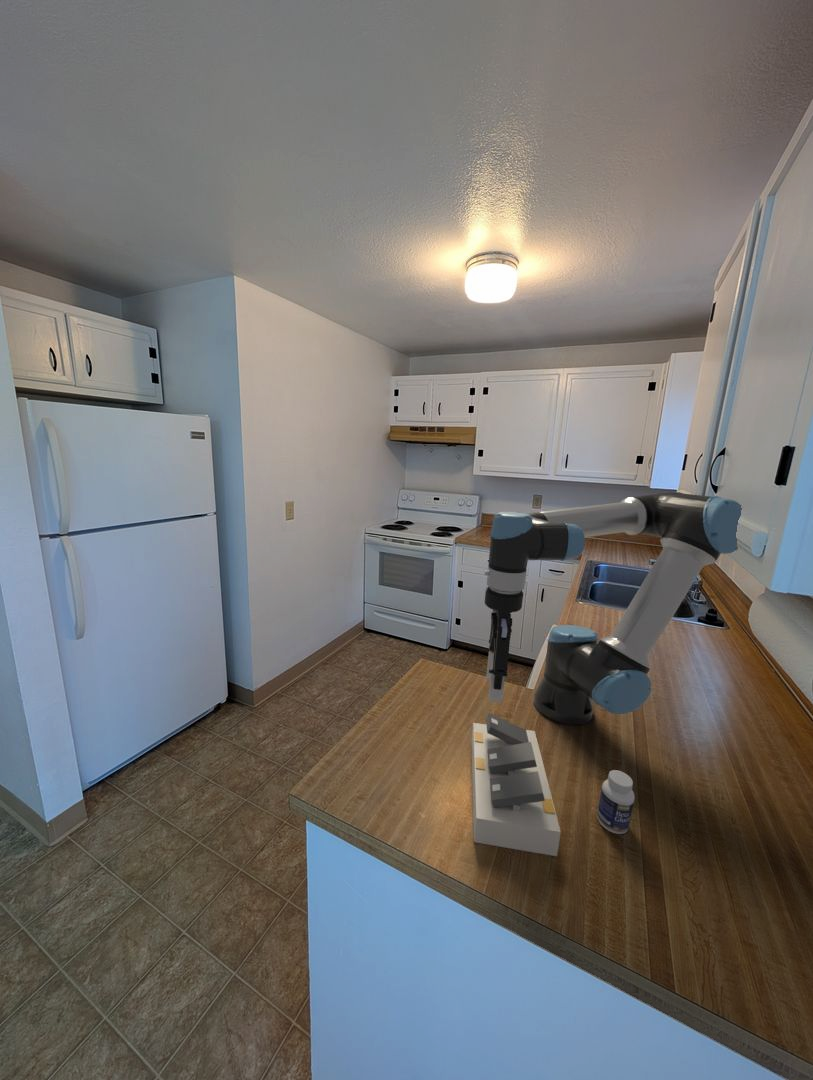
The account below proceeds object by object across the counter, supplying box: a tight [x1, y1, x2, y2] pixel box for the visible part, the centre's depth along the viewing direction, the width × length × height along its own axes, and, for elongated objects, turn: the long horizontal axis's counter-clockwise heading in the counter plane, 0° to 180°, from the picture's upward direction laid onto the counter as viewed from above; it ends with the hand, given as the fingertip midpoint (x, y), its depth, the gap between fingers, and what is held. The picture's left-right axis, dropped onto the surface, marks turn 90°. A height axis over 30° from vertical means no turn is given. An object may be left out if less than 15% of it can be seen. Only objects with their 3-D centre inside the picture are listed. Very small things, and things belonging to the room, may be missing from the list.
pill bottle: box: [596, 769, 636, 835], centre depth 76 cm, size 5×5×10 cm
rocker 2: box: [487, 742, 537, 774], centre depth 81 cm, size 9×5×2 cm, turn 82°
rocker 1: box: [485, 712, 529, 745], centre depth 89 cm, size 9×5×2 cm, turn 82°
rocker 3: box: [490, 771, 545, 808], centre depth 74 cm, size 9×5×2 cm, turn 82°
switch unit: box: [470, 722, 562, 857], centre depth 82 cm, size 14×26×6 cm, turn 172°
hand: (493, 689), depth 88 cm, fingers open, 8 cm apart
